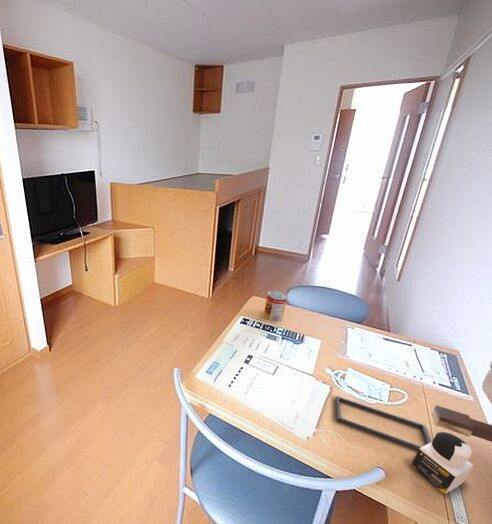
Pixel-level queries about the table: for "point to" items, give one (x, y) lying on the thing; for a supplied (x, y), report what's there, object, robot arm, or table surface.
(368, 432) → the empty picture frame
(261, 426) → the table surface
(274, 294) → the canned food
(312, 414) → the table surface
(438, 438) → the medicine bottle
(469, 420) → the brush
